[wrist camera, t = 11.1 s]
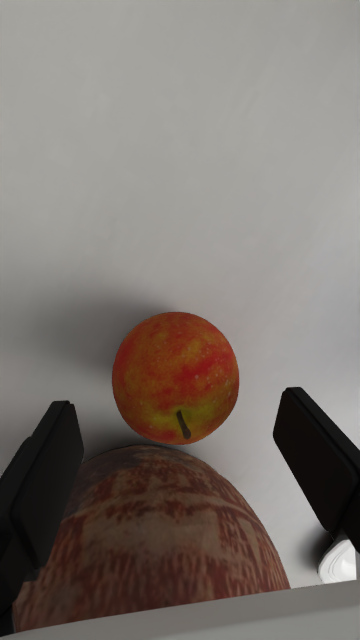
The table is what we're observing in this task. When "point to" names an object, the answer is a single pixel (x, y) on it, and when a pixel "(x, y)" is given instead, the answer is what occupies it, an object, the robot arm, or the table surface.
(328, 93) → the table surface
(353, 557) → the plate
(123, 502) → the jug
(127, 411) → the fruit
